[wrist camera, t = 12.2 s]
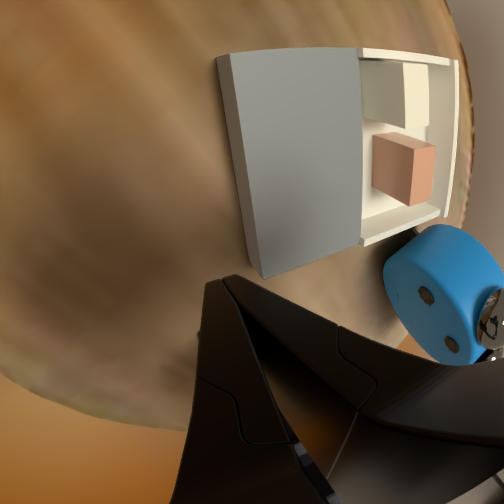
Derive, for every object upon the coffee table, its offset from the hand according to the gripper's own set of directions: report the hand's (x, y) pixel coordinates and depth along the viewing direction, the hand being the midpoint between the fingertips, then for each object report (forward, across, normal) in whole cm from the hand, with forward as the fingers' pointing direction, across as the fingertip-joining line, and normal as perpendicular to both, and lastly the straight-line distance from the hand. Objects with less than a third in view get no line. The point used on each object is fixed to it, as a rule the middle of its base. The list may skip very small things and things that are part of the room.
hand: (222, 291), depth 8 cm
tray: (+12, -17, 0) cm, 21 cm away
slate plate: (+12, -8, 0) cm, 14 cm away
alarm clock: (+12, -21, +14) cm, 28 cm away
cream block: (+9, -14, -4) cm, 17 cm away
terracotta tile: (+9, -15, +2) cm, 18 cm away
